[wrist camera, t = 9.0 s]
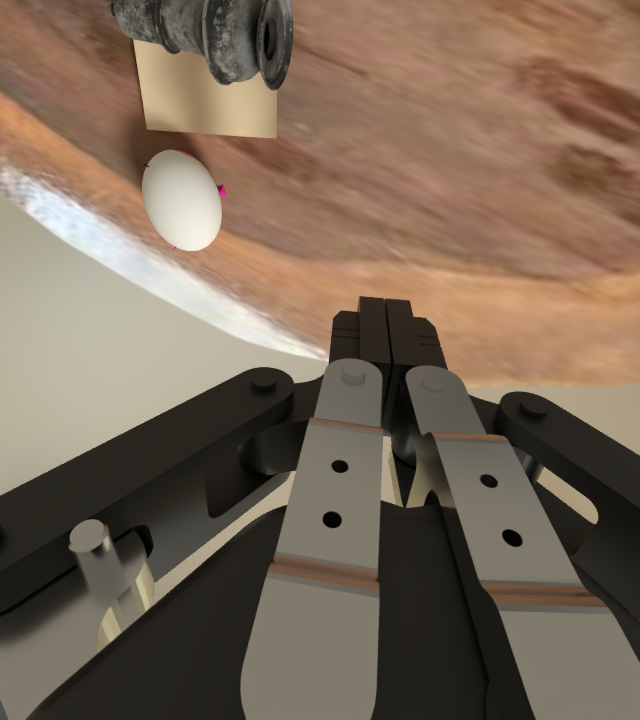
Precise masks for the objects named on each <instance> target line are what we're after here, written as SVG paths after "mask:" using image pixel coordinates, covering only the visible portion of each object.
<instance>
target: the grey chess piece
mask: <svg viewBox="0 0 640 720" xmlns="http://www.w3.org/2000/svg"><path fill="white" fill-rule="evenodd" d="M108 10H109V12H110V13H111V14H112V15H113V16H115V18H116V21H117V23H118V25H119V27H120V28H121V30H122V31H123V32H124V33H125V34H126V35H127V36H128V37H130V38H132V39H134V40H139V41H144V42H149V43H154V44H159V45H162V46H163V48H164V49H165V50H166V51H167V52H168V53H170V54H177V53H179V52H180V51H181V50H182V51H187V52H192V53H197V54H199V55H201V56H203V57H205V58H206V62H207V65H208V67H209V70H210V73H211V74H212V76H213V77H214V79H215V80H216V82H218V83H219V84H221V85H230V84H231V83H233V82H243V81H246V80H250V79H251V78H253V77H254V76H255V75H256V74H257V73H258V72H259V71H260V73H261V75H262V78H263V80H264V82H265V84H266V86H267V87H268V88H269V89H270V90H277V89H278V88H279V87H280V86H281V85H282V83H283V81H284V79H285V76H286V74H287V70H288V67H289V63H290V57H291V51H292V42H293V12H292V6H291V0H265V1H264V2H263V0H114V3H111V4H110V5H109V7H108Z"/></svg>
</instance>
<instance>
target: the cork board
mask: <svg viewBox="0 0 640 720" xmlns="http://www.w3.org/2000/svg"><path fill="white" fill-rule="evenodd" d="M264 1H265V0H263V2H264ZM133 41H134V48H135V54H136V61H137V67H138V74H139V80H140V87H141V93H142V100H143V107H144V113H145V120H146V126H147V130H159V131H173V132H188V133H203V134H218V135H232V136H247V137H262V138H277V90H270V89H269V88H268V87H267V86H266V84H265V82H264V80H263V78H262V75H261V73H260V71H259V72H258V73H257V74H256V75H255V76H254V77H253V78H251V79H250V80H246V81H243V82H233V83H231V84H230V85H221V84H219V83H218V82H216V80H215V79H214V77H213V76H212V74H211V73H210V70H209V67H208V65H207V62H206V58H205V57H203V56H201V55H199V54H197V53H192V52H187V51H182V50H181V51H180V52H179V53H177V54H170V53H168V52H167V51H166V50H165V49H164V48H163V46H162V45H159V44H154V43H149V42H144V41H139V40H134V39H133Z"/></svg>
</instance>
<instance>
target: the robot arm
mask: <svg viewBox="0 0 640 720" xmlns="http://www.w3.org/2000/svg"><path fill="white" fill-rule="evenodd" d="M383 436H388V437H391V448H390V452H389V458H388V461H389V467H390V472H391V477H392V484H393V490H394V495H395V501H396V505H394V504H391V503H388V502H385V501H382V500H381V475H382V473H381V472H382V448H383ZM544 467H546V468H547V469H548V470H550V471H551V472H552V473H554V474H555V475H557V476H558V477H559V478H561V479H562V480H563V481H565V482H566V483H568V484H569V485H570V486H572V487H573V488H575V489H576V490H577V491H579V492H580V493H581V494H583V495H584V496H585V497H587V498H588V499H589V500H590V501H591V502H592V503H593V504H594V505H595V507H596V509H597V512H598V522H597V523H596V524H593V523H591V522H589V521H588V520H587V519H585V518H584V517H582V516H581V515H580V514H579V513H577V512H576V511H575V510H573V509H572V508H571V507H569V506H568V505H567V504H566V503H564V502H563V501H562V500H560V499H559V498H558V497H556V496H555V495H554V494H553V493H551V492H550V491H549V490H547V489H546V488H545V487H543V486H542V485H541V484H539V483H538V482H537V480H538V478H539V476H540V474H541V472H542V470H543V468H544ZM291 471H296V474H295V478H294V482H293V486H292V490H291V494H290V497H289V501H288V505H285V506H282V507H279V508H276V509H273V510H271V511H269V512H267V513H265V514H263V515H261V516H260V517H258V518H257V519H255V520H254V521H252V522H251V523H249V524H248V525H247V526H245V527H244V528H243V529H242V530H241V531H240V532H238V533H237V534H236V535H235V536H234V537H233V538H231V539H230V540H229V541H228V542H227V543H226V544H225V545H223V546H222V547H221V548H220V549H219V550H217V551H216V552H215V553H214V554H213V555H212V556H210V557H209V558H208V559H207V560H206V561H205V562H204V563H202V564H201V565H200V566H199V567H198V568H196V569H195V570H194V571H193V572H192V573H191V574H189V575H188V576H187V577H186V578H185V579H184V580H183V581H181V582H180V583H179V584H178V585H177V586H175V588H173V589H172V590H171V591H170V592H169V593H167V594H166V595H165V596H164V597H163V598H161V599H160V600H159V601H158V602H157V603H156V604H155V605H153V606H152V607H151V608H150V609H149V610H148V608H149V607H150V605H151V602H152V600H153V596H154V588H155V585H154V583H155V582H157V581H158V580H159V579H161V578H162V577H163V576H164V575H166V574H167V573H168V572H169V571H171V570H172V569H173V568H175V567H176V566H177V565H178V564H180V563H181V562H182V561H184V560H185V559H186V558H187V557H189V556H190V555H191V554H193V553H194V552H195V551H197V550H198V549H199V548H200V547H202V546H203V545H204V544H206V543H207V542H208V541H209V540H211V539H212V538H213V537H215V536H216V535H217V534H218V533H220V532H221V531H222V530H224V529H225V528H226V527H227V526H229V525H230V524H231V523H232V522H234V521H235V520H237V519H238V518H239V517H240V516H242V515H243V514H244V513H245V512H247V511H248V510H249V509H251V508H252V507H253V506H255V505H256V504H257V503H258V502H259V501H261V500H262V499H264V498H265V497H266V496H267V495H269V494H270V493H271V492H273V491H274V490H275V489H276V488H278V487H279V486H280V485H282V484H283V483H284V482H285V481H286V480H287V479H288V477H289V475H290V473H291ZM0 700H1V702H2V704H3V706H4V709H5V712H6V714H7V716H8V719H9V720H640V456H639V455H638V454H636V453H634V452H633V451H631V450H629V449H628V448H626V447H625V446H623V445H621V444H620V443H618V442H617V441H615V440H613V439H612V438H610V437H608V436H606V435H605V434H603V433H602V432H600V431H599V430H597V429H595V428H594V427H592V426H590V425H589V424H587V423H585V422H584V421H582V420H580V419H579V418H577V417H576V416H574V415H572V414H571V413H569V412H567V411H566V410H564V409H562V408H561V407H559V406H557V405H556V404H554V403H552V402H551V401H549V400H547V399H546V398H543V397H541V396H539V395H535V394H532V393H527V392H511V393H508V394H505V395H504V396H503V397H502V398H501V401H500V403H499V404H495V403H492V402H489V401H485V400H482V399H479V398H476V397H473V396H471V395H469V394H468V393H467V390H466V388H465V386H464V384H463V382H462V380H461V379H460V378H459V377H458V376H457V375H455V374H454V373H452V372H450V371H448V368H447V365H446V362H445V358H444V355H443V352H442V349H441V347H440V342H439V339H438V335H437V332H436V329H435V327H434V326H433V325H432V324H431V323H430V322H429V321H428V320H427V319H426V318H421V317H413V313H412V308H411V304H410V301H409V300H398V299H386V298H385V300H384V298H374V297H363V296H360V297H359V302H358V310H357V312H352V311H340V312H339V313H338V314H337V315H336V316H335V317H334V318H333V326H332V336H331V346H330V356H329V365H328V366H327V368H326V370H325V373H324V374H323V375H322V376H321V377H319V378H317V379H315V380H312V381H308V382H304V383H295V384H294V382H293V379H292V378H291V377H290V376H289V375H288V374H287V373H285V372H284V371H281V370H279V369H275V368H269V367H260V368H253V369H250V370H247V371H245V372H243V373H241V374H239V375H237V376H235V377H233V378H231V379H229V380H227V381H225V382H223V383H221V384H219V385H217V386H215V387H213V388H211V389H209V390H207V391H205V392H204V393H201V394H199V395H197V396H195V397H193V398H192V399H190V400H187V401H186V402H184V403H182V404H180V405H178V406H176V407H174V408H172V409H170V410H168V411H166V412H164V413H162V414H160V415H158V416H156V417H154V418H152V419H150V420H148V421H146V422H144V423H142V424H140V425H138V426H136V427H134V428H133V429H130V430H129V431H127V432H125V433H123V434H121V435H119V436H117V437H115V438H113V439H111V440H109V441H107V442H105V443H103V444H101V445H99V446H97V447H96V448H93V449H92V450H89V451H87V452H85V453H83V454H82V455H80V456H77V457H75V458H74V459H72V460H70V461H68V462H66V463H64V464H62V465H60V466H58V467H56V468H54V469H52V470H50V471H48V472H46V473H44V474H42V475H40V476H38V477H36V478H34V479H33V480H30V481H28V482H26V483H25V484H22V485H20V486H19V487H17V488H15V489H13V490H11V491H9V492H7V493H5V494H3V495H1V496H0Z"/></svg>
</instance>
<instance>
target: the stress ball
mask: <svg viewBox="0 0 640 720" xmlns="http://www.w3.org/2000/svg"><path fill="white" fill-rule="evenodd" d="M144 165H146V164H144ZM146 166H147V167H146V169H145V172H144V175H143V181H142V195H143V201H144V205H145V209H146V212H147V214H148V216H149V219H150V221H151V222H152V224H153V226H154V227H155V229H156V230H157V231H158V233H159V234H160V235H161V236H162V237H163V238H164V239H165V240H166V241H167V242H169V243H170V244H172V245H173V246H175V248H176V247H177V248H179V249H182V250H187V251H197V250H200V249H203V248H205V247H207V246H208V245H209V244H210V243H211V242H212V241H213V240H214V239H215V237H216V235H217V233H218V231H219V228H220V225H221V218H222V207H221V200H220V196H219V194H222V195H224V196H225V197H226V194H225V190H224V186H223V185H222V187H221V189H220V191H219V192H218V189H217V187H216V184H215V182H214V180H213V178H212V177H211V175H210V173H209V172H208V171H207V169H206V168H205V167H204V166H203V165H202V164H201V163H200V162H199V161H198V160H197V159H196V158H194V157H193V156H191V155H190V154H188V153H186V152H183V151H179V150H165V151H162V152H160V153H158V154H157V155H155V156H154V157H153V158H152V159H151V160H150V162H149V163H148V165H146ZM175 248H174V249H175ZM173 251H174V250H173Z"/></svg>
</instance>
